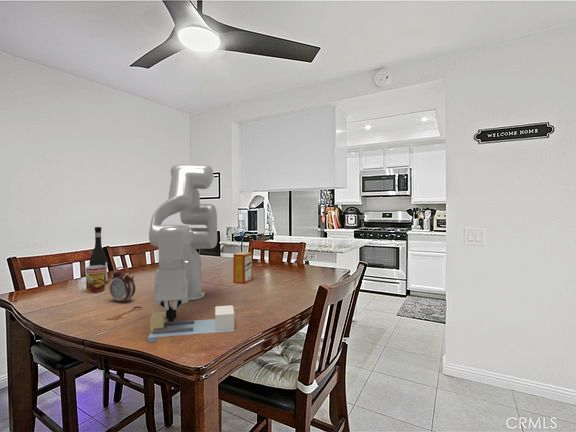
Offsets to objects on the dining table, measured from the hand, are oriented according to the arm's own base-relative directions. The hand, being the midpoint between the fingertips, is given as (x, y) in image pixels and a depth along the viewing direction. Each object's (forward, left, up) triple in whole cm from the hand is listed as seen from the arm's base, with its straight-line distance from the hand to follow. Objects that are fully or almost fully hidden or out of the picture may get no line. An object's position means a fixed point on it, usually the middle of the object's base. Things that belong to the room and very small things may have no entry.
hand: (171, 320), depth 103 cm
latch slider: (0, -4, -2) cm, 5 cm away
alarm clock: (-40, -25, -4) cm, 47 cm away
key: (-23, -19, -5) cm, 30 cm away
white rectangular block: (0, +17, -3) cm, 17 cm away
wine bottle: (-76, -46, -4) cm, 89 cm away
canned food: (-60, -42, -4) cm, 73 cm away
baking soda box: (-66, +29, -4) cm, 72 cm away
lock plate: (0, +7, -4) cm, 8 cm away
